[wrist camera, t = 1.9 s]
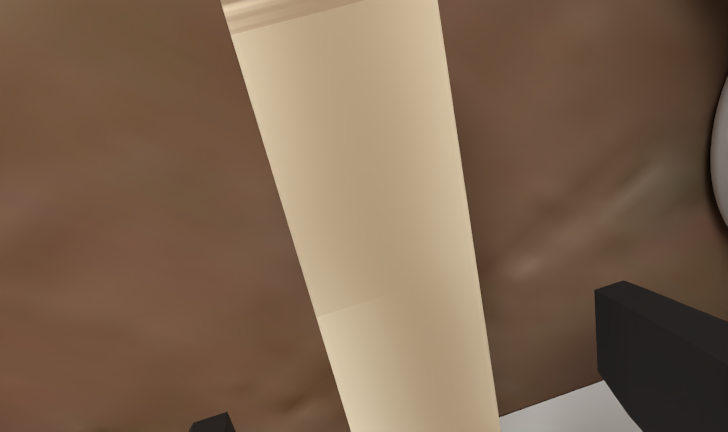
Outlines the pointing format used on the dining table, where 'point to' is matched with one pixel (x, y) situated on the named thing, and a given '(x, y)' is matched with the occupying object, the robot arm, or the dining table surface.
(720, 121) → the cylinder vase
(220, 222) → the dining table surface
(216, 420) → the robot arm
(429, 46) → the light wood plank
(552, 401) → the white building blocks
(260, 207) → the dining table surface
